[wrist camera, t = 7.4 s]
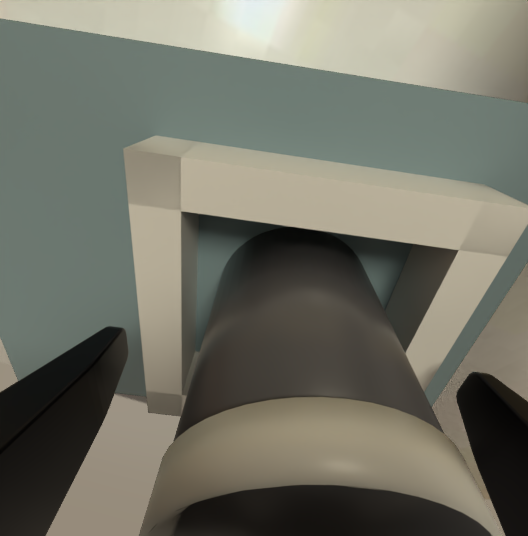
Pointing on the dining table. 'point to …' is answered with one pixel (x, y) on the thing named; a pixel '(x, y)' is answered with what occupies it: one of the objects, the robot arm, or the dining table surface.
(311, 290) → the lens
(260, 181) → the teal base with frame
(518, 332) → the dining table surface
